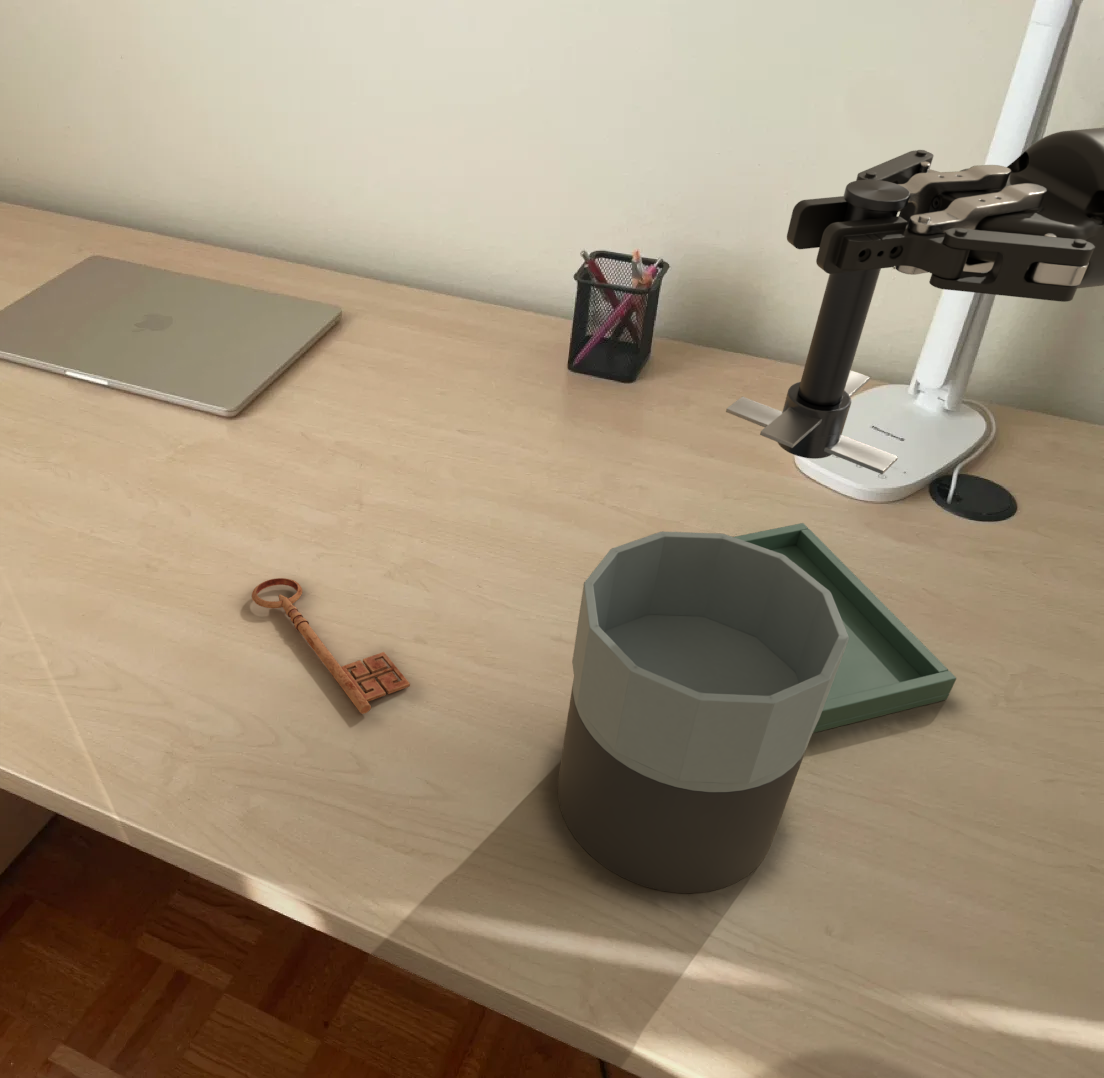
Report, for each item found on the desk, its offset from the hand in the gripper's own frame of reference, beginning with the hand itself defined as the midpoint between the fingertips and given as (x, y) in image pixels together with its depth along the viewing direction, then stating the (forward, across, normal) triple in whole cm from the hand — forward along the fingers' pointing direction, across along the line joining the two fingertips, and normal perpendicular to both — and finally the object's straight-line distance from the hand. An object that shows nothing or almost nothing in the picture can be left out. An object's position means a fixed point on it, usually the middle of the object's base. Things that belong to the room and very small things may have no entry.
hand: (810, 237), depth 50 cm
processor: (+5, +6, +33) cm, 34 cm away
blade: (-3, 0, +12) cm, 12 cm away
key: (+23, -12, +33) cm, 42 cm away
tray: (-10, -6, +33) cm, 35 cm away
